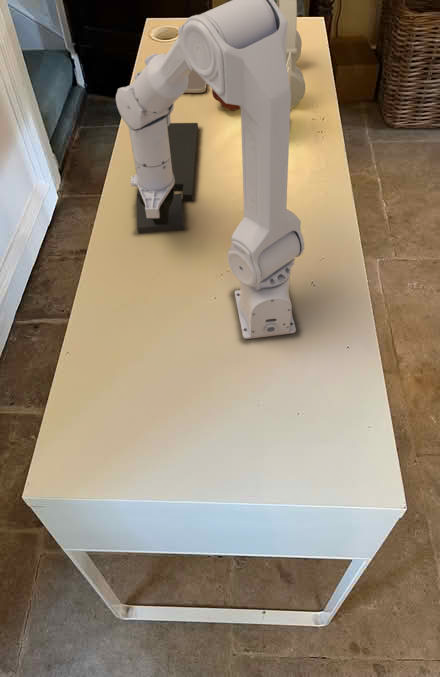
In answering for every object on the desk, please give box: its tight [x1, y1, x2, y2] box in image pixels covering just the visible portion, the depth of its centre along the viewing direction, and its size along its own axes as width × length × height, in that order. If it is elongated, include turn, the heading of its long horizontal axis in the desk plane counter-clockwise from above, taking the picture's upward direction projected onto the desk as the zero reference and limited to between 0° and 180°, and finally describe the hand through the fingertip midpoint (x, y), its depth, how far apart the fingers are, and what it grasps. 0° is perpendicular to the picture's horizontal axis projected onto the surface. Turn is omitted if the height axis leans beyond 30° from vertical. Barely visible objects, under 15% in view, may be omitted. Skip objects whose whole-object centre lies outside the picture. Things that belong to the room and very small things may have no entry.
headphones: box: [276, 0, 306, 109], centre depth 123 cm, size 20×8×19 cm, turn 178°
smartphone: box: [183, 70, 208, 94], centre depth 134 cm, size 7×1×15 cm
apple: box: [211, 88, 241, 111], centre depth 123 cm, size 7×8×8 cm
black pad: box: [136, 122, 199, 202], centre depth 115 cm, size 22×10×2 cm, turn 179°
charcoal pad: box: [136, 193, 185, 235], centre depth 107 cm, size 11×8×2 cm
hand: (161, 222), depth 104 cm, fingers closed, pressing on charcoal pad
